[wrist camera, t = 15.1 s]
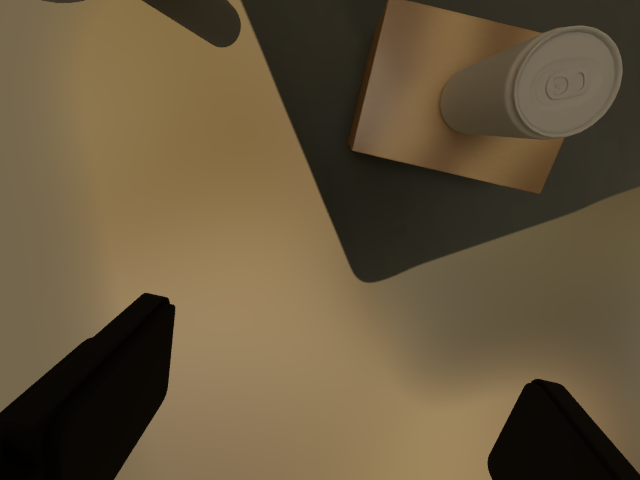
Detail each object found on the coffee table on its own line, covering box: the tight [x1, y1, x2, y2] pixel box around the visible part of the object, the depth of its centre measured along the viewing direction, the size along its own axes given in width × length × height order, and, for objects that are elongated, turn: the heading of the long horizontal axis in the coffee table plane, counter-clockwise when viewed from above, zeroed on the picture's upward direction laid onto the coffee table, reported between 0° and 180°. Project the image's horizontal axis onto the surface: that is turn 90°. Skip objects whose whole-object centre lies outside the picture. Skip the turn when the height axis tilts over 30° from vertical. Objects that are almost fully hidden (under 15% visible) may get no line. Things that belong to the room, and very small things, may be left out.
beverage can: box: [440, 25, 623, 140], centre depth 21 cm, size 5×5×12 cm
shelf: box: [348, 0, 565, 194], centre depth 33 cm, size 16×11×12 cm
